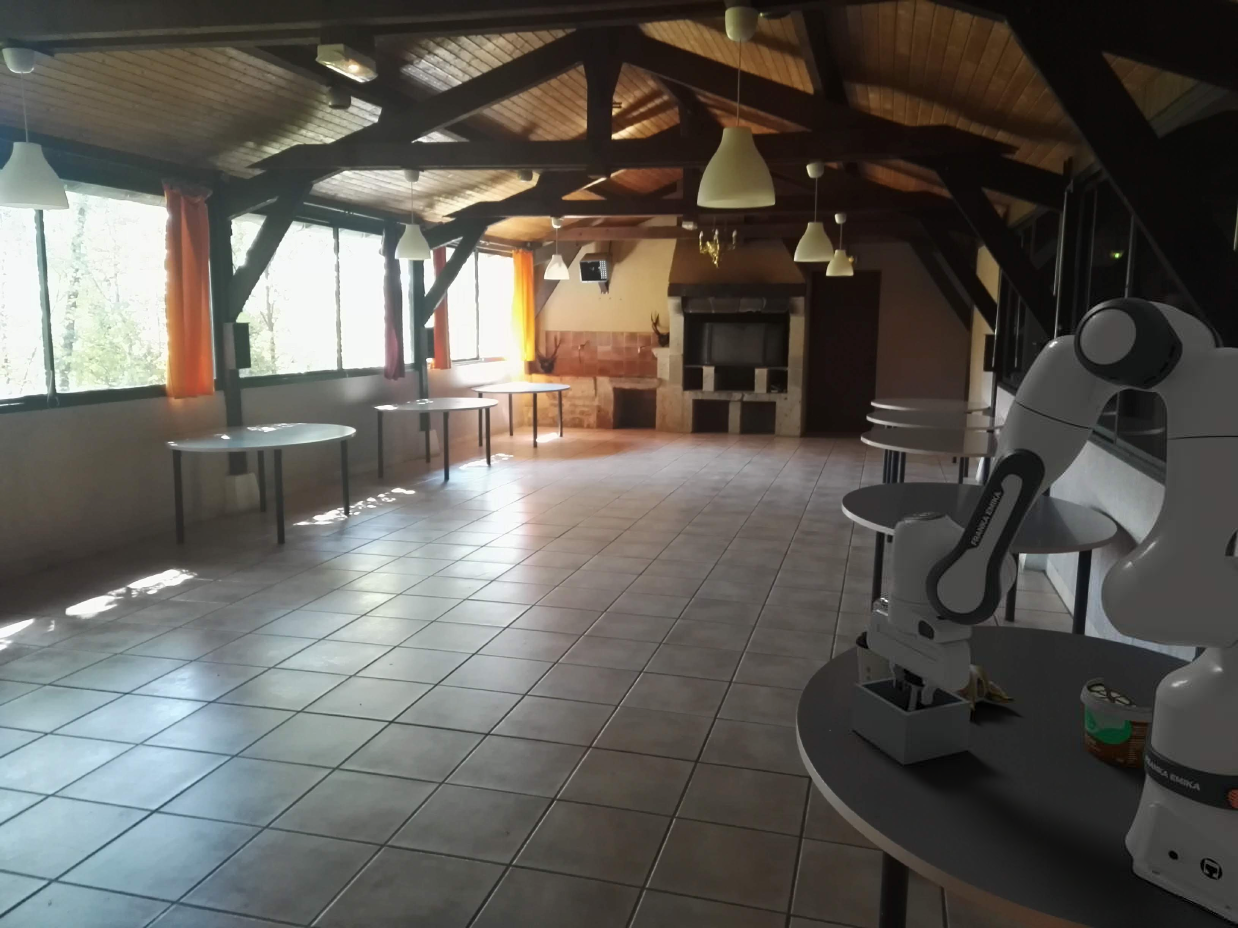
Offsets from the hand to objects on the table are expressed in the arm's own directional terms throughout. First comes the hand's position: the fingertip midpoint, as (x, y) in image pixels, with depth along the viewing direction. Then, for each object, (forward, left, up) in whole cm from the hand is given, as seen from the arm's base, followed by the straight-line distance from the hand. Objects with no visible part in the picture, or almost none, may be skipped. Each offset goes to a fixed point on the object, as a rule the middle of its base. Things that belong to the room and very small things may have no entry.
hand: (912, 695), depth 140 cm
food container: (-15, -25, -8) cm, 30 cm away
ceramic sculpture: (+8, -19, -8) cm, 22 cm away
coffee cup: (+19, -8, -8) cm, 22 cm away
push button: (0, 0, -6) cm, 6 cm away
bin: (0, 0, -7) cm, 7 cm away
